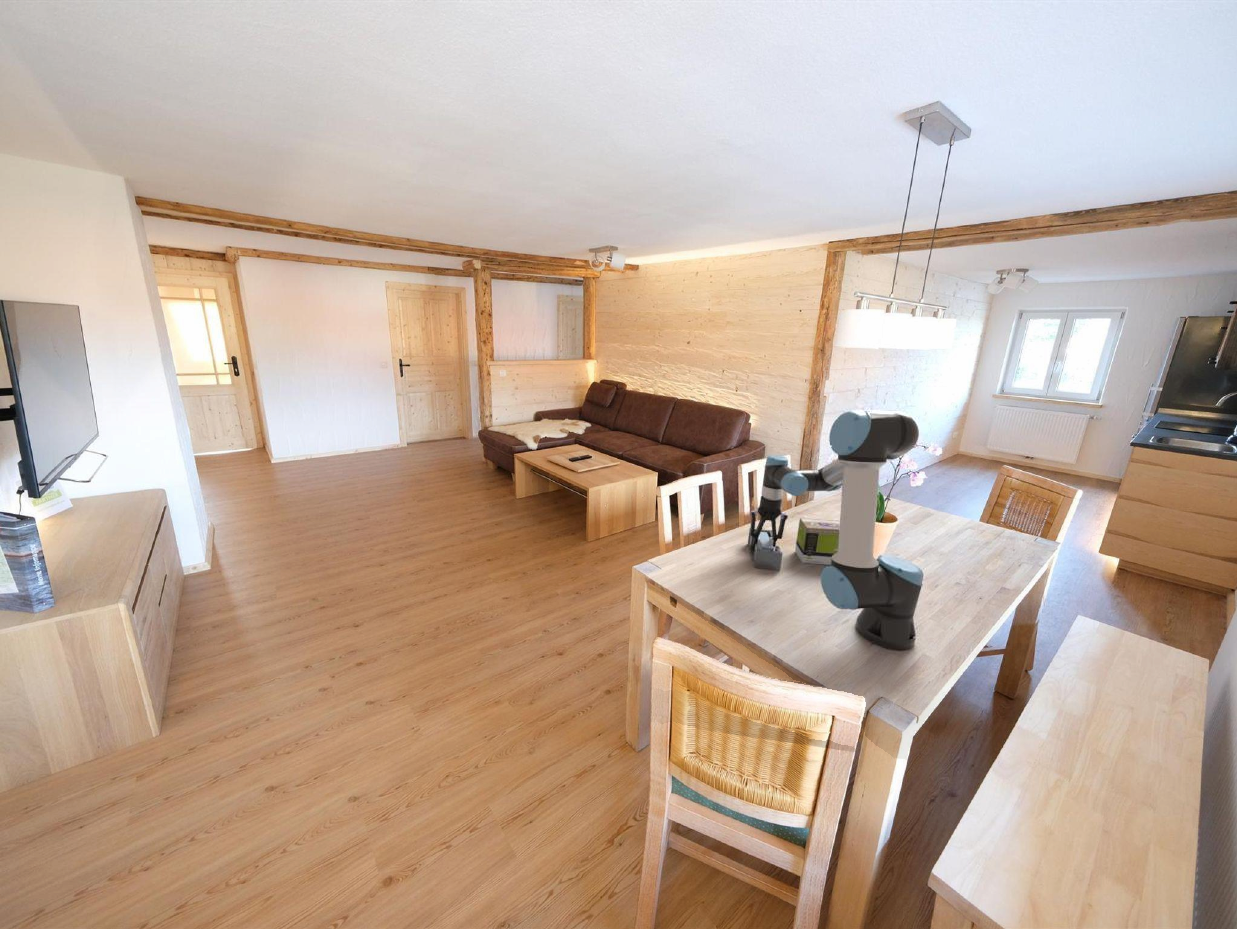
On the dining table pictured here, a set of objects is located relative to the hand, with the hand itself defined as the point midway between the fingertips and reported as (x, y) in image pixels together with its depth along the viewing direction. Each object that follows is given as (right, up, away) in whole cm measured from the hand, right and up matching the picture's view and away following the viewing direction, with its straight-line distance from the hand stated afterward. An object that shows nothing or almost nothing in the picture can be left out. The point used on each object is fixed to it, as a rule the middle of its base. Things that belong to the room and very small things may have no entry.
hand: (762, 553), depth 179 cm
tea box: (+21, -3, +1) cm, 21 cm away
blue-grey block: (0, 0, 0) cm, 0 cm away
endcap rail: (0, -1, 0) cm, 1 cm away
